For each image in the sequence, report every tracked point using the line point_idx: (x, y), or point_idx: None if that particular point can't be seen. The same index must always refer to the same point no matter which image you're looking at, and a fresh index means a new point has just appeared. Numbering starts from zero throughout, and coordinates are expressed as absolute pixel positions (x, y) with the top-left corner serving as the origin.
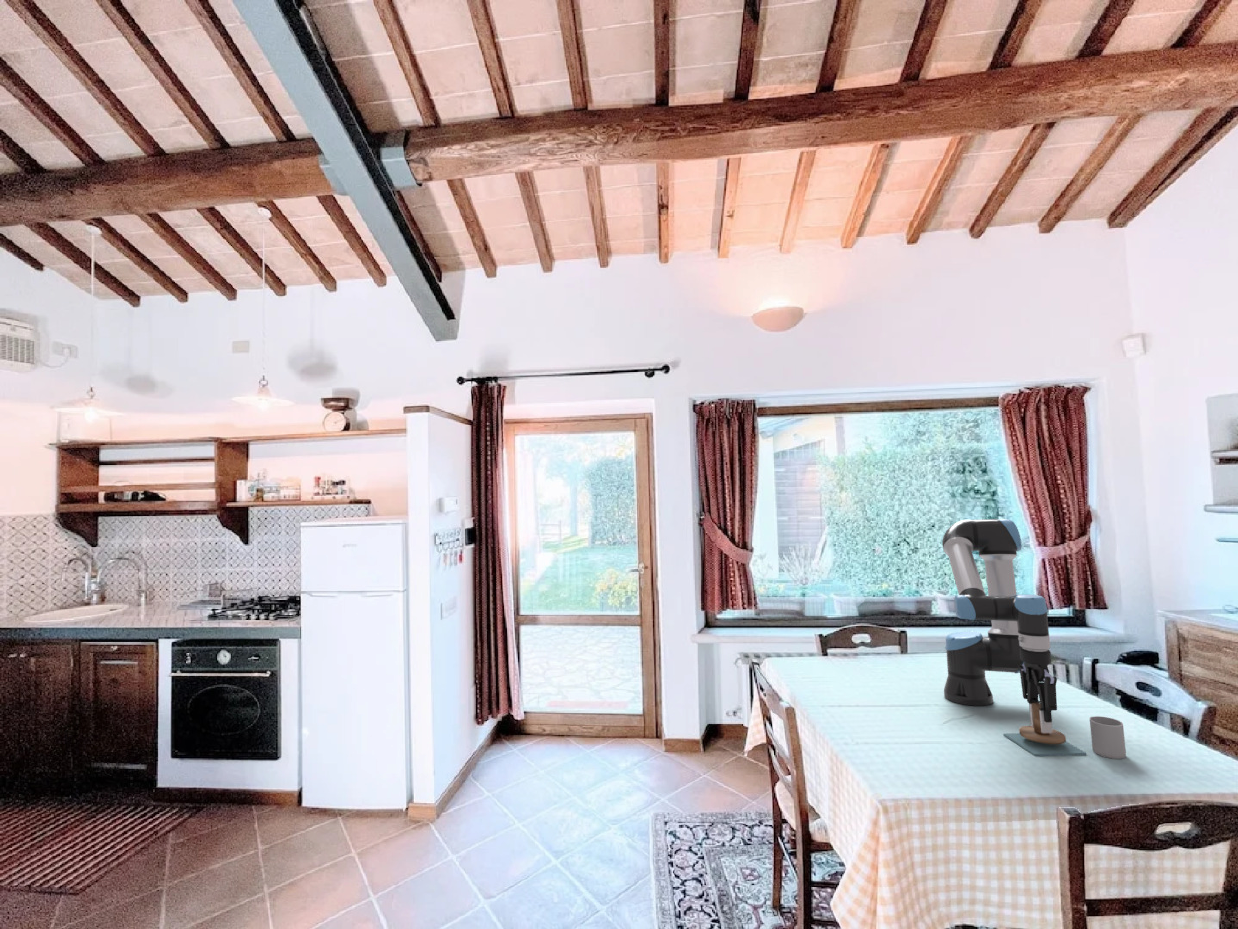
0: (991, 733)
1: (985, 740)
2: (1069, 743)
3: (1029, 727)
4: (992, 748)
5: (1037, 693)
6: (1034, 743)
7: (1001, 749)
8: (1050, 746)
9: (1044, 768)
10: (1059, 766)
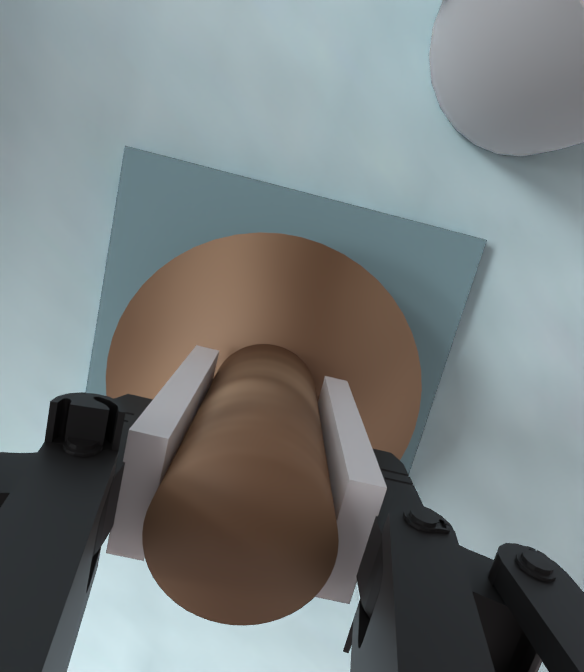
0: None
1: (120, 620)
2: (331, 201)
3: (144, 391)
4: (227, 662)
5: (77, 581)
6: None
7: (252, 631)
8: None
9: None
10: (526, 525)
